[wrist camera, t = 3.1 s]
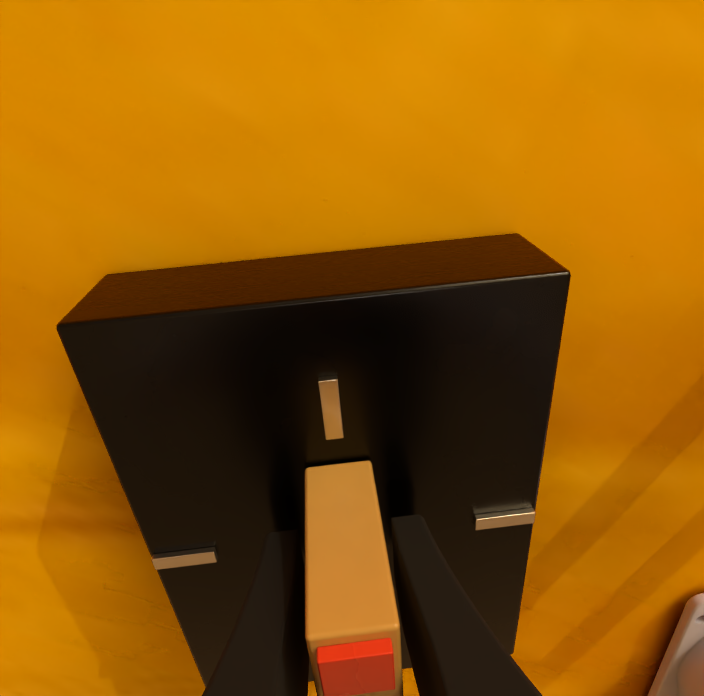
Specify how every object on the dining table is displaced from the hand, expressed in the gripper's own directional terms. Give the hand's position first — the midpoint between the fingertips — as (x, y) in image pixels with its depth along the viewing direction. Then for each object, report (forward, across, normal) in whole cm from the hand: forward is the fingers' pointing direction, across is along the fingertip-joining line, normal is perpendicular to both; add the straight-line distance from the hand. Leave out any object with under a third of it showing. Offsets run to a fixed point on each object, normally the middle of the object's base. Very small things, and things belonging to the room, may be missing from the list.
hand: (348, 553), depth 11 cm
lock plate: (+3, 0, 0) cm, 3 cm away
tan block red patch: (0, 0, 0) cm, 0 cm away
